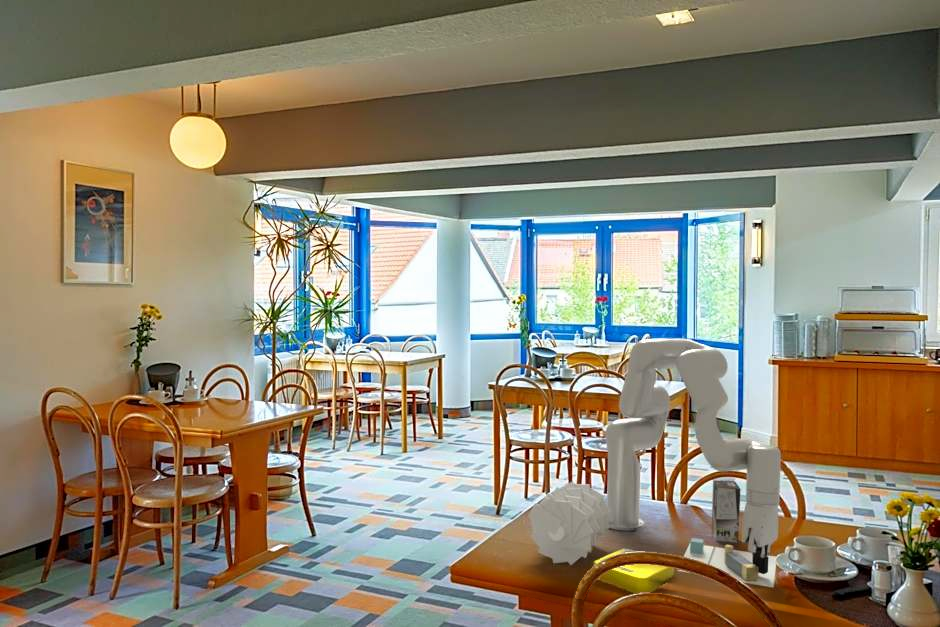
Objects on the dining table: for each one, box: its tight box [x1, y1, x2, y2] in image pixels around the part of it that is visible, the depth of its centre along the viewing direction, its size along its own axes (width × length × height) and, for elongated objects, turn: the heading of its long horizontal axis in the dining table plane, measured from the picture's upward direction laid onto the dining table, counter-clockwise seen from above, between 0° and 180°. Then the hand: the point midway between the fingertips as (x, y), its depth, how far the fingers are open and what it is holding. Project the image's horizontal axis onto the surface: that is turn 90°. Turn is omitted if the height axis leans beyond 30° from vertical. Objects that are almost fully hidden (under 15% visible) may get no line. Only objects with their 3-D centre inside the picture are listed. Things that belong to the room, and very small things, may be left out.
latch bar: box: [726, 553, 759, 580], centre depth 180 cm, size 10×3×3 cm, turn 8°
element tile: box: [592, 548, 675, 594], centre depth 179 cm, size 15×15×5 cm
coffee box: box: [711, 479, 742, 543], centre depth 208 cm, size 9×6×16 cm
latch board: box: [676, 537, 777, 589], centre depth 187 cm, size 22×23×6 cm
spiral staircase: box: [527, 480, 611, 566], centre depth 195 cm, size 18×18×25 cm
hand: (760, 571), depth 179 cm, fingers closed
